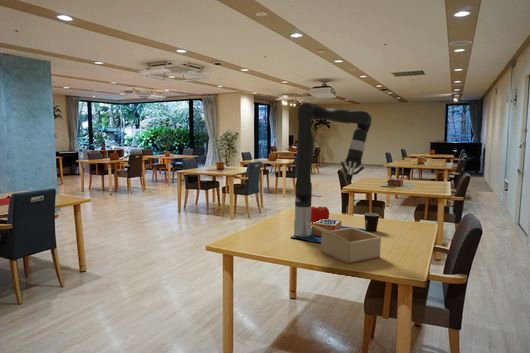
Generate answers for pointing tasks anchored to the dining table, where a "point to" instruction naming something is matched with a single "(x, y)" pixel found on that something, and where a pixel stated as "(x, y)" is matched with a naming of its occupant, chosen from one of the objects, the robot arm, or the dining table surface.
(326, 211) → the tomato
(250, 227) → the dining table surface
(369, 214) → the coffee mug
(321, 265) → the dining table surface
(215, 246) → the dining table surface
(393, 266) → the dining table surface
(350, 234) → the carton
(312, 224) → the carton flap
